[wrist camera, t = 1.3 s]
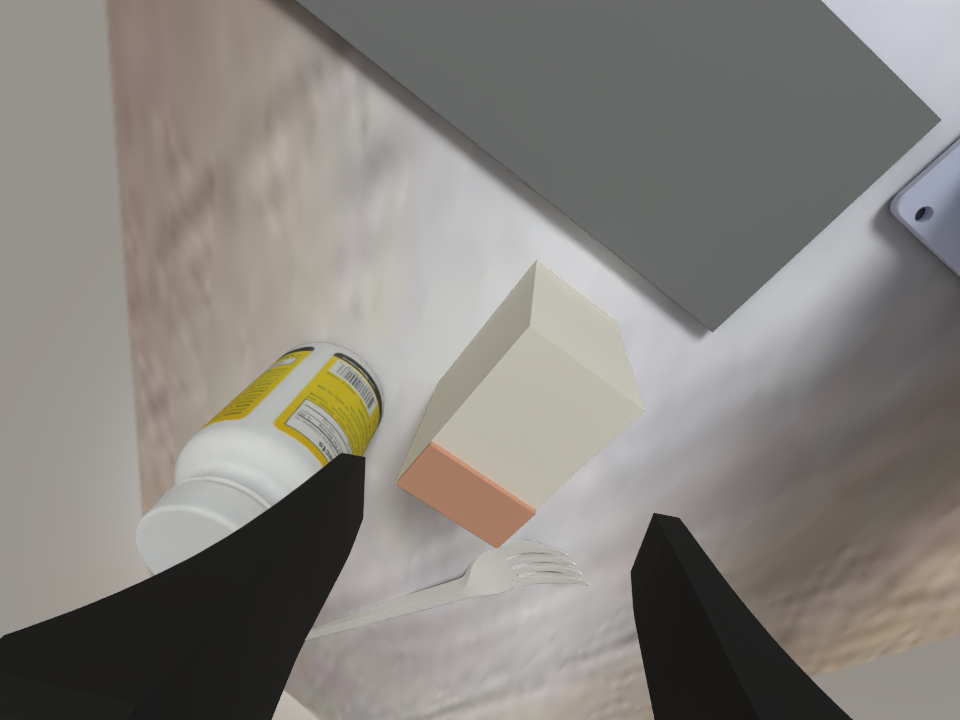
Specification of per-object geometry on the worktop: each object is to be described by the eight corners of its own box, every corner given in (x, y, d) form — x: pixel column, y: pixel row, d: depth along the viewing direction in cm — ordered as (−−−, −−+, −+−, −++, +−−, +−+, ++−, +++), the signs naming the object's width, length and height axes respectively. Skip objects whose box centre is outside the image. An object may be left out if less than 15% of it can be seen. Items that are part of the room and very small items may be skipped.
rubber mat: (930, 120, 15) (941, 120, 15) (709, 327, 19) (712, 332, 19) (404, -399, 12) (398, -419, 12) (263, -28, 16) (254, -33, 16)
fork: (285, 611, 32) (270, 639, 30) (563, 518, 25) (563, 547, 23) (317, 642, 33) (304, 670, 31) (592, 561, 26) (594, 592, 24)
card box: (615, 319, 20) (646, 414, 13) (509, 430, 23) (493, 551, 16) (536, 259, 19) (529, 328, 13) (439, 381, 22) (392, 487, 16)
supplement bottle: (274, 423, 24) (118, 593, 16) (278, 325, 22) (96, 461, 13) (379, 453, 24) (282, 640, 15) (396, 357, 22) (292, 515, 13)
